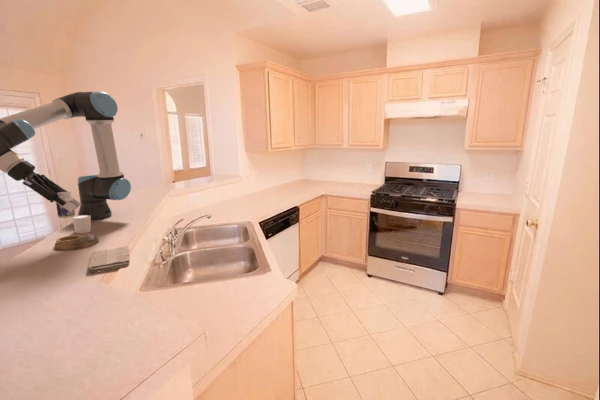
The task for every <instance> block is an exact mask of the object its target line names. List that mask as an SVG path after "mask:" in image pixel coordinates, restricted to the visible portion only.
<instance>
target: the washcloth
mask: <svg viewBox="0 0 600 400" xmlns="http://www.w3.org/2000/svg"><path fill="white" fill-rule="evenodd" d="M130 257H131V255H130V250H129V246H118V247H115V248H110V249H101V250H95V251H92V252H91V254H90V258H89V262H88V264H87V269H86V270H88V272H89V273H90V274H92V273H91V272H98V271H104V272H109V271H115V270H120V269H125V268H128V267H129V266H130V260H131V259H130ZM98 273H99V272H98Z"/></svg>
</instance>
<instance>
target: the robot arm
mask: <svg viewBox="0 0 600 400" xmlns="http://www.w3.org/2000/svg"><path fill="white" fill-rule="evenodd" d="M117 113H118V105H117V102H116V100H115V99H114V98H113V97H112V96H111V95H110V94H109V93H107V92H105V91H98V90H97V91H96V90H95V91H77V92H72V93H70V94H66V95H64V96H60V97H57V98H55V99H53V100H52V101H51V102H50V103H46V104H43V105H41V106H37V107H33V108H29V109H27V110H23V111H20V112H17V113H13V114H10V115H8V116H4V117H0V171H1V172H3V173H4V174H7V176H9V177H10V178H11V179H13V180H15V181H16V182H19V181H21V180H23V181H22V184H23V185H24V186H26V187H29V188H30V189H31V190H33V191H34V192H35V193H37V194H38V195H40V196H41V197H43V198H44V199H46V200H47V201H49V202H50V203H53V202H55V203H58V204H59V205H61V206H62V207H64V208H65V209H67V210H68V211H70V212H72V211H73V210H74V209H75V210H76V209H78V208H79V209H78V212H77V216H80V215H90V216H91V221H92V220H93V221H94V220H95V221H96V220H100V219H101V220H102V219H106V218H109V217H112V216H111V215H113V212H112V210H111V207H110V206H109V203H108V201H107V200H110V201H122V200H125V199H126V198H127V197H128V196H129V194H130V193H131V191H132V190H131V189H132V185H131V182H130V181H129V180H128V179H127V178H125V174H124V172H123V171H121V170H120V165H119V159H118V155H117V150H116V143H115V138H114V132H113V128H112V124H113V122H114V121H115V118H114V117H115V116H116V115H117ZM83 117H84V119H85V121H86V123H88V124H89V126H90V130H91V134H92V139H93V145H94V148H95V154H96V157H97V165H98V168H99V173H98V174H91V175H82V176H78V178H77V187H78V194H79V201H78V200H77V199H76V198H74V197H72V196H70V197H72V198H73V200H74V205H73V204H72V203H70V202H69V201H68V200H66V199H65V198H63V197H62V196H58V195H57V193H59V192H69V191H68V190H66V189H65V188H63V187H62V186H60V185H59V184H57V183H55V182H54V181H53V180H52V179H50V178H48V177H47V176H46V175H45V174H40V173H36V172H35V171H34V170H35V169H36V166H35V165H34V164H33V163H31V162H29V161H28V160H25V158H23V157H22V156H21V155H20V154H18V153H17V152H15V151H14V150H12V149H14V148H15V147H17V146H19V145H21V144H23V143H25V142H27V141H29V140H30V139H32V138H33V137H34V136H35V135H36V131H35V129H37V128H38V129H39V128H40V127H43V126H46V125H48V124H51V123H54V122H58V121H59V120H62V119H63V120H69V119H72V118H83Z"/></svg>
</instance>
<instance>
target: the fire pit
mask: <svg viewBox="0 0 600 400" xmlns="http://www.w3.org/2000/svg"><path fill="white" fill-rule="evenodd" d="M55 240H56V242H55V243H54V248H55V250H57V251H74V250H81V249H85V248H89V247H90V248H91V247H92V246H94V245H97V244H98V243H99V237H98V236H94V235H93V234H89V235H88V234H87V235H79V234H72V235H66V236H62V237H59V238H56V239H55Z"/></svg>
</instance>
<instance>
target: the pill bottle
mask: <svg viewBox="0 0 600 400" xmlns="http://www.w3.org/2000/svg"><path fill="white" fill-rule="evenodd" d="M57 195H58V196H62V197H63V198H65V199H66V200H68V201H69V202H70V203H72V204H73V205H74V200H73V198H74V197H73V196H71V195H72V194H71V191H68V192H59V193H57ZM70 196H71V197H70ZM55 203H56V202H55ZM56 211H57V217H58V219H59V218H60V219H67V218H72V217H75V216H76V209H74V210H73V211H72V212H70V211H68V210H67V209H65V208H64V207H62V206H61V205H59V204H58V203H56Z"/></svg>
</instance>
